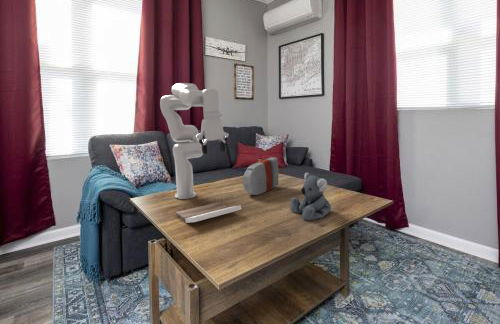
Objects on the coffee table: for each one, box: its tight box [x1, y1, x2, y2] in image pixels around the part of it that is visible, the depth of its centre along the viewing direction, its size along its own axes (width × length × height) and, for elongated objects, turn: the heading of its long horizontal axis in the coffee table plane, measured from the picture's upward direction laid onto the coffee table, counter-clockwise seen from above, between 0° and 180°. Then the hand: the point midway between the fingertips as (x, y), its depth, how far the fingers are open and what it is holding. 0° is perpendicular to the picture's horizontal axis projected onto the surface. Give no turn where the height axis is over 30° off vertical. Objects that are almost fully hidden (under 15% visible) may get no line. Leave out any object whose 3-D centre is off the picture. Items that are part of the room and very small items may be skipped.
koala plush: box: [289, 171, 332, 221], centre depth 138 cm, size 17×18×20 cm
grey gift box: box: [242, 156, 279, 196], centre depth 175 cm, size 19×6×30 cm
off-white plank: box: [185, 204, 242, 224], centre depth 132 cm, size 10×24×2 cm, turn 127°
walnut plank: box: [175, 201, 229, 223], centre depth 141 cm, size 10×24×2 cm, turn 128°
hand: (213, 152), depth 138 cm, fingers open, 9 cm apart
